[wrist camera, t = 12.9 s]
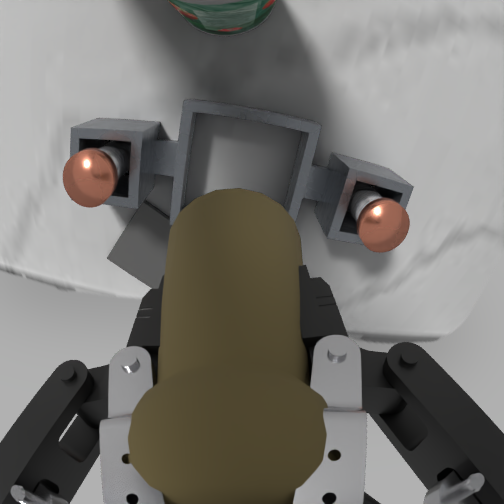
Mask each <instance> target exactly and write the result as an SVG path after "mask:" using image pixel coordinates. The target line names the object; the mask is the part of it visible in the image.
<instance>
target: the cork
mask: <svg viewBox="0 0 504 504" xmlns="http://www.w3.org/2000/svg"><path fill="white" fill-rule="evenodd" d="M301 265H303V262H302V250H301V239H300V235H299V233H298V230H297V227H296V224H295V222H294V219H293V218H292V217H291V216H290V215H289V214H288V212H287V211H286V210H285V209H284V208H283V207H282V205H281V204H279V203H278V202H276V201H274V200H272V199H271V198H269V197H267V196H266V195H264V194H262V193H259V192H254V191H250V190H245V189H241V188H235V189H223V190H215V191H212V192H210V193H208V194H205V195H203V196H200V197H198V198H196V199H194V200H193V201H192V202H191V203H190V204H188V205H187V206H186V207H185V208H184V209H183V210H182V211H181V212H179V214H178V216H177V218H176V220H175V221H174V223H173V225H172V227H171V229H170V233H169V241H168V249H167V257H166V266H165V275H164V285H163V296H162V309H161V333H160V347H159V350H158V371H157V384H156V385H155V386H153V387H152V388H151V389H149V390H148V391H146V392H145V394H144V395H143V396H142V398H141V399H140V401H139V402H138V404H137V405H136V407H135V409H134V411H133V413H132V416H131V425H130V430H129V434H128V445H129V452H130V454H129V455H128V457H127V464H130V463H132V465H133V467H134V468H135V469H136V471H137V472H138V473H139V474H140V476H141V477H142V478H143V479H144V480H145V481H146V483H147V484H148V485H149V486H150V487H152V488H154V489H156V490H158V491H160V492H162V493H163V495H164V496H165V498H166V500H167V501H168V502H169V503H170V504H293V499H294V495H295V490H296V489H297V488H299V487H301V486H302V485H303V484H304V483H305V482H306V481H307V480H308V479H309V477H310V476H311V475H312V474H313V473H314V472H315V471H316V470H317V468H318V467H319V466H320V464H321V463H322V461H323V457H324V451H325V444H326V438H327V432H326V427H325V423H324V418H323V411H324V408H328V405H327V403H326V401H325V400H324V398H323V397H322V396H321V395H320V394H319V393H317V392H316V391H314V390H313V389H312V388H310V375H309V358H308V352H307V350H306V348H305V345H304V343H303V341H302V335H301V329H300V288H299V266H301ZM328 458H329V459H330V460H331V461H337V459H336V457H335V456H334V455H333V454H332V453H329V454H328Z"/></svg>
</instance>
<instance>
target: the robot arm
mask: <svg viewBox="0 0 504 504" xmlns="http://www.w3.org/2000/svg"><path fill="white" fill-rule="evenodd" d="M163 285H164V275H163V276H162V279H161V282H160V285H159V288H158V289H150V291H149V292H148V293H147V294H146V295H145V296H144V297H143V299H142V302H141V304H140V308H139V310H138V313H137V318H136V319H135V322H134V325H133V328H132V331H131V334H130V337H129V340H128V344H127V347H126V348H124V349H121V350H120V351H118V352H117V353H116V354H115V355H114V356H113V357H112V359H111V361H110V364H108V365H105V366H101V367H97V368H92V369H87V367H86V366H85V365H84V364H83V363H82V362H80V361H78V360H69V361H66V362H64V363H63V364H61V365H59V367H57V368H56V370H55V371H54V372H53V373H52V375H51V376H50V377H49V378H48V380H47V381H46V382H45V384H44V385H43V386H42V387H41V388H40V390H39V391H38V392H37V394H36V395H35V396H34V398H33V399H32V400H31V401H30V403H29V404H28V405H27V407H26V408H25V409H24V411H23V412H22V413H21V415H20V416H19V417H18V419H17V420H16V422H15V423H14V424H13V426H12V427H11V429H10V430H9V431H8V433H7V434H6V436H5V437H4V439H3V440H2V441H1V443H0V504H70V502H71V500H72V499H73V497H74V495H75V494H76V492H77V490H78V489H79V487H80V485H81V484H82V482H83V481H84V479H85V477H86V475H87V474H88V472H89V471H90V469H91V467H92V466H93V464H94V462H95V461H96V459H97V458H98V456H99V454H100V461H101V477H102V489H103V499H104V504H170V503H169V502H168V501H167V500H166V498H165V496H164V495H163V493H162V492H160V491H158V490H156V489H154V488H152V487H150V486H149V485H148V484H147V483H146V481H145V480H144V479H143V478H142V477H141V476H140V474H139V473H138V472H137V471H136V469H135V468H134V467H133V465H132V463H130V464H127V457H128V455H129V454H130V452H129V445H128V434H129V430H130V425H131V416H132V413H133V411H134V409H135V407H136V405H137V404H138V402H139V401H140V399H141V398H142V396H143V395H144V394H145V392H146V391H148V390H149V389H151V388H152V387H153V386H155V385H156V384H157V371H158V350H159V347H160V333H161V309H162V296H163ZM299 288H300V329H301V335H302V341H303V343H304V345H305V348H306V350H307V352H308V358H309V375H310V388H312V389H313V390H314V391H316V392H317V393H319V394H320V395H321V396H322V397H323V398H324V400H325V401H326V403H327V405H328V408H324V411H323V418H324V423H325V427H326V432H327V438H326V444H325V451H324V457H323V461H322V463H321V464H320V466H319V467H318V468H317V470H316V471H315V472H314V473H313V474H312V475H311V476H310V477H309V479H308V480H307V481H306V482H305V483H304V484H303V485H302V486H301V487H299V488H297V489H296V490H295V495H294V499H293V504H380V503H379V502H378V501H376V500H375V499H373V498H372V497H371V496H369V495H368V494H367V493H365V492H364V485H365V468H366V445H367V414H366V413H369V414H370V416H371V417H372V418H373V419H374V421H375V422H376V423H377V424H378V426H379V427H380V429H381V430H382V431H383V432H384V434H385V435H386V436H387V438H388V439H389V440H390V442H391V443H392V444H393V445H394V447H395V448H396V449H397V451H398V452H399V453H400V455H401V456H402V457H403V458H404V460H405V461H406V462H407V464H408V465H409V466H410V467H411V469H412V470H413V471H414V473H415V474H416V475H417V476H418V478H419V479H420V480H421V482H422V483H423V484H424V486H425V487H426V488H427V489H428V492H427V493H426V495H425V499H424V504H504V434H503V432H502V431H501V430H500V429H499V428H498V427H497V426H496V425H495V424H494V423H493V421H492V420H491V419H490V418H489V417H488V416H487V415H486V414H485V413H484V411H483V410H482V409H481V408H480V407H479V406H478V405H477V404H476V403H475V402H474V401H473V400H472V399H471V398H470V396H469V395H468V394H467V393H466V392H465V391H464V390H463V389H462V388H461V387H460V386H459V385H458V384H457V383H456V382H455V381H454V380H453V379H452V378H451V377H450V376H449V375H448V374H447V373H446V372H445V371H444V369H443V368H442V367H441V366H440V365H439V364H438V363H437V362H436V361H435V360H434V359H433V358H432V357H431V356H430V355H429V354H428V353H426V351H425V350H424V349H422V348H421V347H420V346H418V345H416V344H413V343H409V342H403V343H398V344H396V345H394V346H393V347H392V348H391V349H390V350H389V352H388V353H384V352H374V351H368V350H364V349H362V348H360V347H359V346H358V345H357V343H356V342H355V341H354V340H352V339H351V338H349V337H348V335H347V332H346V329H345V326H344V324H343V321H342V318H341V315H340V313H339V310H338V307H337V306H336V302H335V299H334V297H333V294H332V291H331V288H330V286H329V285H328V284H327V283H326V282H325V281H324V280H323V279H322V278H321V277H319V278H310V276H309V273H308V270H307V267H306V265H301V266H299ZM75 414H77V415H78V416H77V417H76V419H75V420H74V422H73V423H72V425H71V426H70V427H69V429H68V430H67V432H66V433H65V435H64V436H63V438H62V439H61V441H60V442H59V438H60V436H61V434H62V433H63V432H64V430H65V429H66V427H67V426H68V424H69V423H70V421H71V420H72V418H73V417H74V415H75ZM329 453H332V454H333V455H334V456H335V457H336V459H337V461H331V460H330V459H329V458H328V454H329Z"/></svg>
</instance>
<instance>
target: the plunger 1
mask: <svg viewBox="0 0 504 504" xmlns="http://www.w3.org/2000/svg"><path fill="white" fill-rule="evenodd" d="M130 154H131V142H130V141H118V140H113V141H111V142H109V143H107V144H106V145H104V146H102V147H100V148H99V149H97V148H87V149H84V150H82V151H80V152H78V153H76V154H75V155H73V156H72V157H71V158H70V159H69V160H68V161H67V163H66V165H65V167H64V171H63V183H64V187H65V190H66V192H67V193H68V195H69V196H70V198H71V199H72V200H73V201H74V202H76V203H77V204H79V205H81V206H84V207H97V206H99V205H101V204H103V203H104V202H105V201H106V200H107V199H108V198H109V197H110V196H111V195H112V194H113V192H114V191H115V189H116V186H117V182H118V179H119V178H120V177H121V176H123V175H124V174H125V173H126V172H127V171H128V170H129V169H130Z"/></svg>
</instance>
